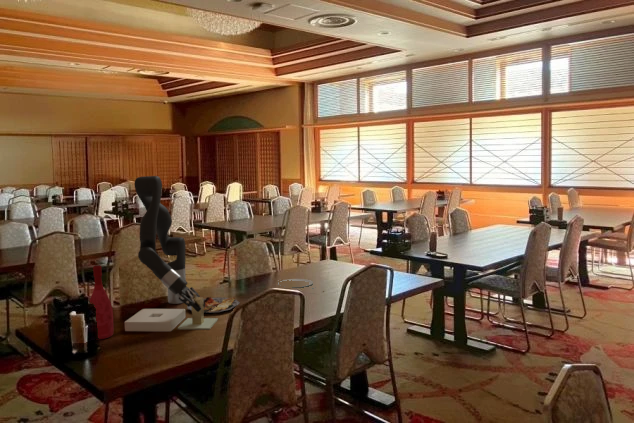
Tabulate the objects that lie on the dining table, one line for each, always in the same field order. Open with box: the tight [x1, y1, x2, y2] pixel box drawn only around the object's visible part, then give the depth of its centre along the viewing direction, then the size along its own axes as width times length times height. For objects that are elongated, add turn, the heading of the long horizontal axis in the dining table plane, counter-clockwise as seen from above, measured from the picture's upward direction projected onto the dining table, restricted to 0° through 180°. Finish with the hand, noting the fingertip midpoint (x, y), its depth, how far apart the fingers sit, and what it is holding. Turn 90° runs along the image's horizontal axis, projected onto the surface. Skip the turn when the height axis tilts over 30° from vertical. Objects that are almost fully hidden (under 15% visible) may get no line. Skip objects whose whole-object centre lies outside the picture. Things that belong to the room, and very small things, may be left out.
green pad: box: [177, 317, 219, 330], centre depth 239 cm, size 14×14×1 cm
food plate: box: [186, 296, 240, 314], centre depth 265 cm, size 25×23×4 cm
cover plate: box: [124, 308, 187, 332], centre depth 240 cm, size 20×20×4 cm
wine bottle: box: [89, 264, 115, 340], centre depth 224 cm, size 10×10×30 cm
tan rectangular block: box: [191, 296, 205, 324], centre depth 239 cm, size 5×4×11 cm
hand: (201, 308), depth 238 cm, fingers open, 5 cm apart
